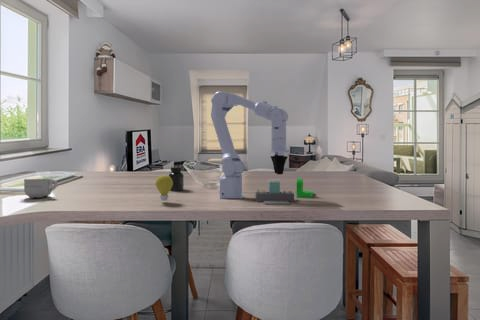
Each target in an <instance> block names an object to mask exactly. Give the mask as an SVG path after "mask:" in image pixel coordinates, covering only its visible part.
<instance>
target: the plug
mask: <svg viewBox="0 0 480 320" xmlns="http://www.w3.org/2000/svg"><path fill="white" fill-rule="evenodd" d="M267 181H268V192H269V193H280V192H281V179H268V180H267Z"/></svg>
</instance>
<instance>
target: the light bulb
mask: <svg viewBox="0 0 480 320" xmlns="http://www.w3.org/2000/svg"><path fill="white" fill-rule="evenodd" d="M172 185H173V181H172V179H171V177H169V175H168V174H162V175H159V176H158V177H157V178H156V180H155V186H156V188H157V191H158V192H159V193H160V195H159V198H161V199H160V200H161V202H162V201H163V202H166V201H168V198H169V192H171V191H170V190H171V187H172Z"/></svg>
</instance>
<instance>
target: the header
mask: <svg viewBox="0 0 480 320" xmlns="http://www.w3.org/2000/svg"><path fill="white" fill-rule="evenodd" d="M254 192H255V194H254V196H255V197H254V198H255V202H256V203H257V202H259V203H260V202H261V203H262V202H263V201H288V202H289V203H291V202H295V193H294V192H293V191H292V190H291V189H288V191H287V190H285V189H282V191H280V193H269V191H266V190H264V189H263V190H262V191H260V190H259V189H256V191H254ZM263 203H264V202H263Z"/></svg>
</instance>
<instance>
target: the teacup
mask: <svg viewBox="0 0 480 320" xmlns="http://www.w3.org/2000/svg"><path fill="white" fill-rule="evenodd" d="M23 181H24V183H23V189H24V190H23V192H24V194H25V196H28V198H35V197H36V198H43V197H42V196H47V197H49V196H50V195H51V194H52V192H53V191H54V190H56V189H57V187H58V181H57V180H56V179H53V178H37V179H36V178H29V179H28V178H26V179H23Z"/></svg>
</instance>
